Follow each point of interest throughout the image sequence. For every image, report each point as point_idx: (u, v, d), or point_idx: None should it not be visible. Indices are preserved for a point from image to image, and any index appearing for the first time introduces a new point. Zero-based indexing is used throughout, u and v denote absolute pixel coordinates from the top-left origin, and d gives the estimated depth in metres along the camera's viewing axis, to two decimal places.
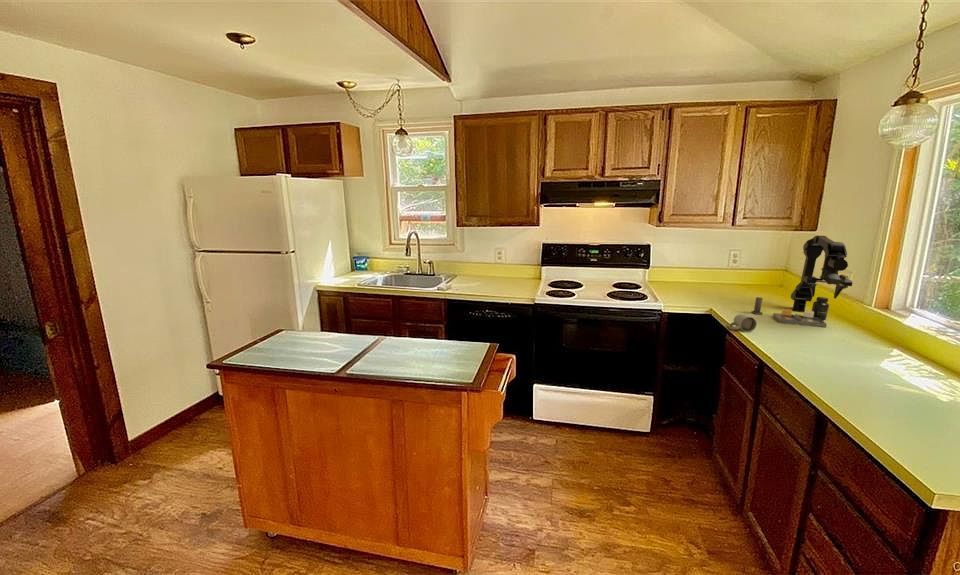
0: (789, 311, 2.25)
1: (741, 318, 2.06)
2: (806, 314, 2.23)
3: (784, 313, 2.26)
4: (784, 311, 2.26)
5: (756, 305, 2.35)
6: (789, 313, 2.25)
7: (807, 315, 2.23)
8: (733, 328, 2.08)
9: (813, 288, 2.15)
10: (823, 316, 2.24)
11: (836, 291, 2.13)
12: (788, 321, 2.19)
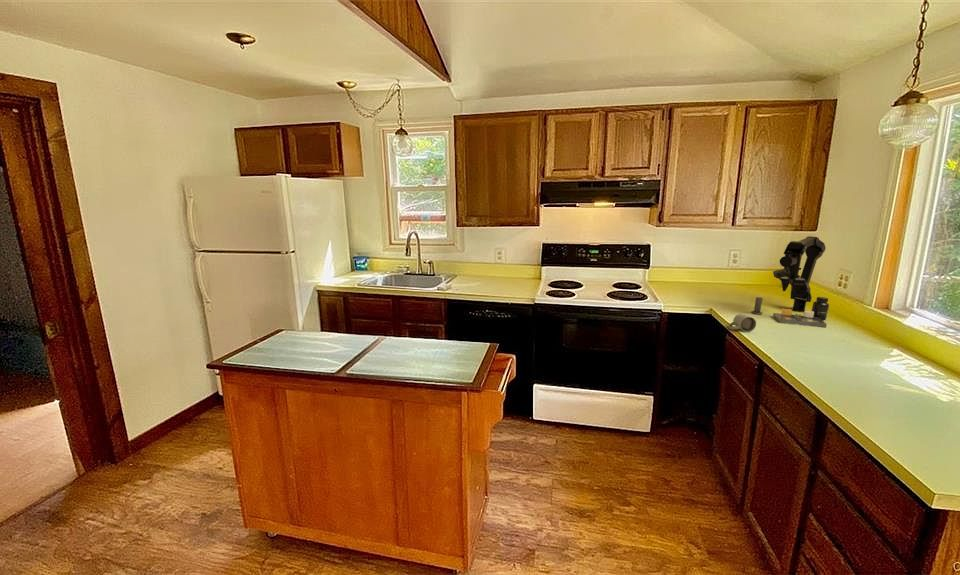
0: (789, 311, 2.25)
1: (741, 318, 2.06)
2: (806, 314, 2.23)
3: (784, 313, 2.26)
4: (784, 311, 2.26)
5: (756, 305, 2.35)
6: (789, 313, 2.25)
7: (807, 315, 2.23)
8: (733, 328, 2.08)
9: (781, 282, 2.36)
10: (823, 316, 2.24)
11: None
12: (788, 321, 2.19)
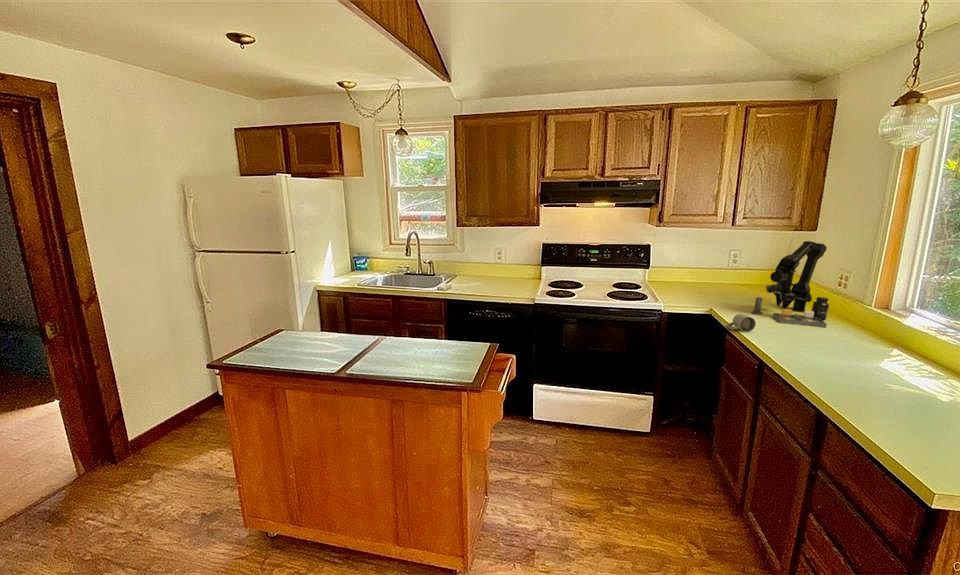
0: (789, 311, 2.25)
1: (740, 318, 2.06)
2: (806, 314, 2.23)
3: (784, 313, 2.26)
4: (784, 311, 2.26)
5: (756, 305, 2.35)
6: (789, 313, 2.25)
7: (807, 315, 2.23)
8: (732, 328, 2.08)
9: (776, 297, 2.40)
10: (823, 316, 2.24)
11: None
12: (788, 321, 2.19)
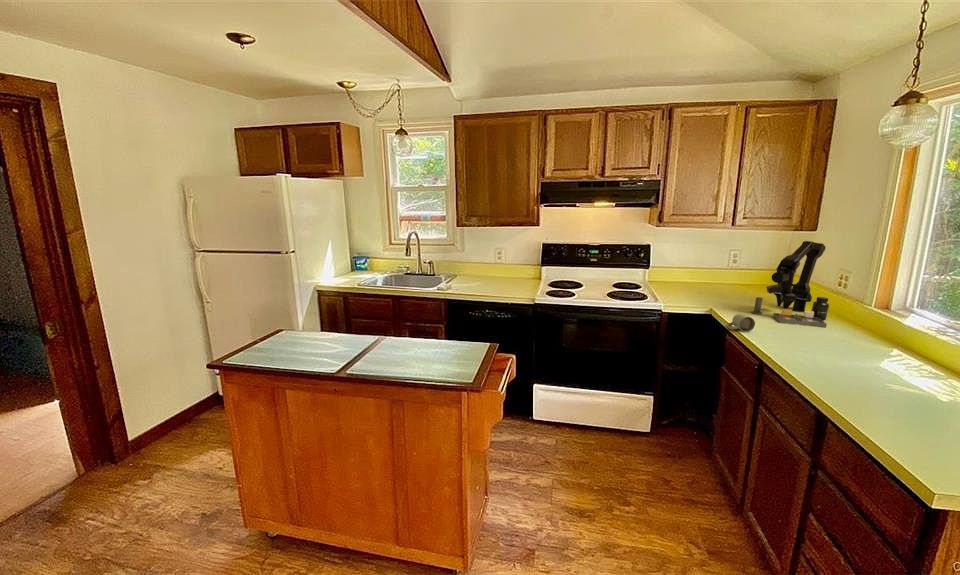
0: (789, 311, 2.25)
1: (739, 318, 2.06)
2: (806, 314, 2.23)
3: (784, 313, 2.26)
4: (784, 311, 2.26)
5: (756, 305, 2.35)
6: (789, 313, 2.25)
7: (807, 315, 2.23)
8: (731, 328, 2.08)
9: None
10: (823, 316, 2.24)
11: None
12: (788, 321, 2.19)
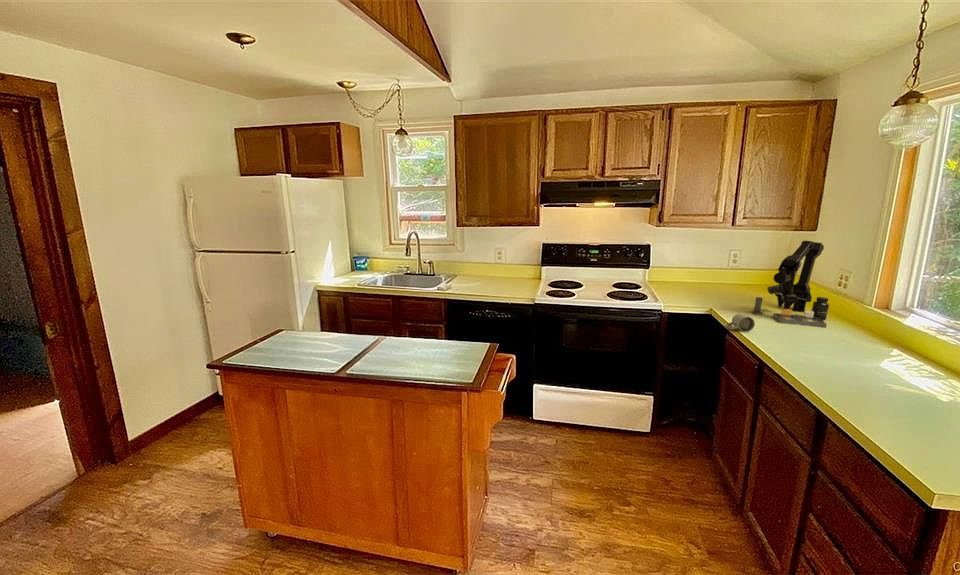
0: (789, 311, 2.25)
1: (739, 318, 2.06)
2: (806, 314, 2.23)
3: (784, 313, 2.26)
4: (784, 311, 2.26)
5: (756, 305, 2.35)
6: (789, 313, 2.25)
7: (807, 315, 2.23)
8: (731, 328, 2.08)
9: (777, 298, 2.37)
10: (823, 316, 2.24)
11: None
12: (788, 321, 2.19)
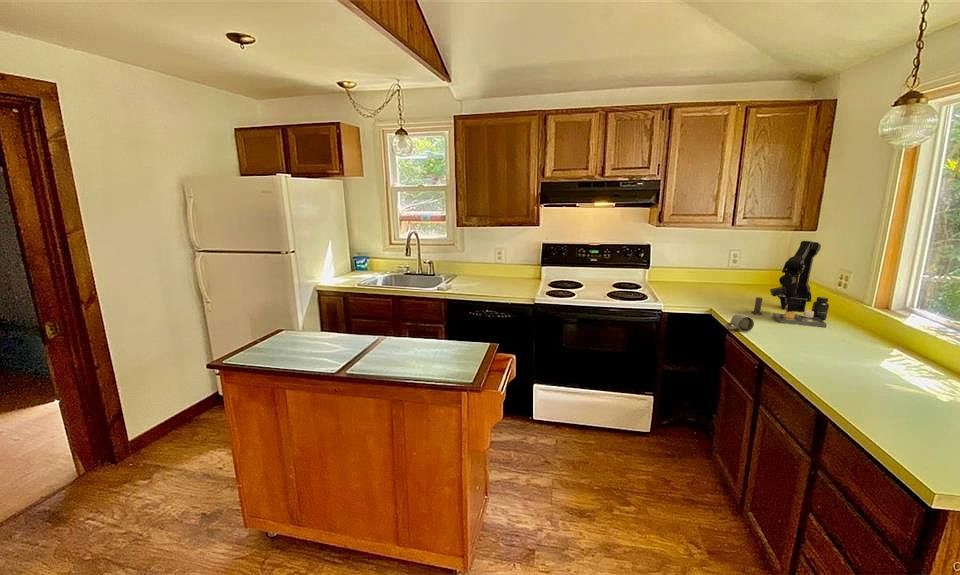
0: (792, 314, 2.21)
1: (738, 318, 2.06)
2: (806, 314, 2.23)
3: (787, 315, 2.21)
4: (787, 314, 2.21)
5: (756, 305, 2.35)
6: (792, 316, 2.21)
7: (807, 315, 2.23)
8: (730, 328, 2.08)
9: (780, 301, 2.33)
10: (823, 316, 2.24)
11: None
12: (788, 321, 2.19)
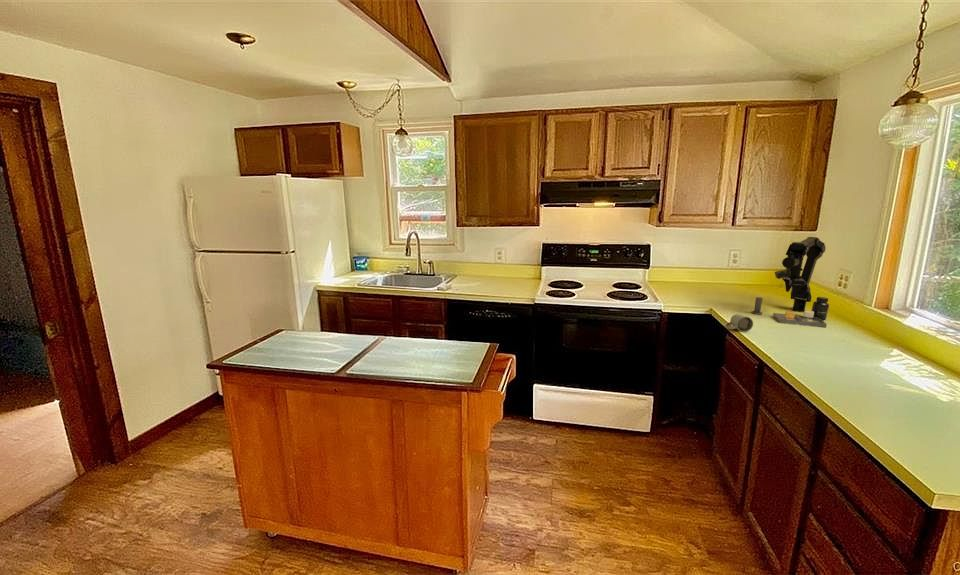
0: (792, 314, 2.21)
1: (737, 318, 2.06)
2: (806, 314, 2.23)
3: (787, 315, 2.21)
4: (787, 314, 2.21)
5: (756, 305, 2.35)
6: (792, 316, 2.21)
7: (807, 315, 2.23)
8: (730, 328, 2.08)
9: (785, 283, 2.36)
10: (823, 316, 2.24)
11: None
12: (788, 321, 2.19)
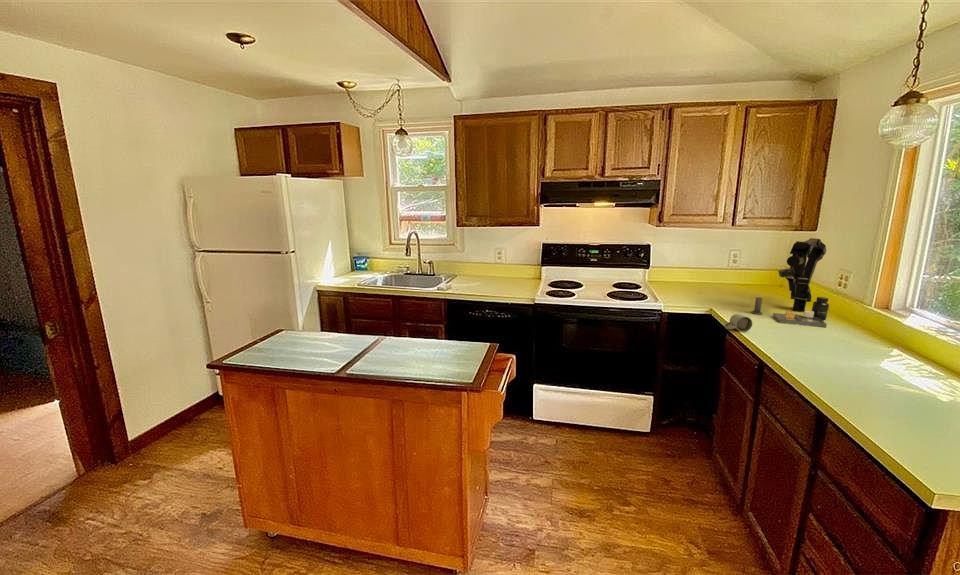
0: (792, 314, 2.21)
1: (737, 318, 2.06)
2: (806, 314, 2.23)
3: (787, 315, 2.21)
4: (787, 314, 2.21)
5: (756, 305, 2.35)
6: (792, 316, 2.21)
7: (807, 315, 2.23)
8: (729, 328, 2.08)
9: (788, 282, 2.37)
10: (823, 316, 2.24)
11: None
12: (788, 321, 2.19)
